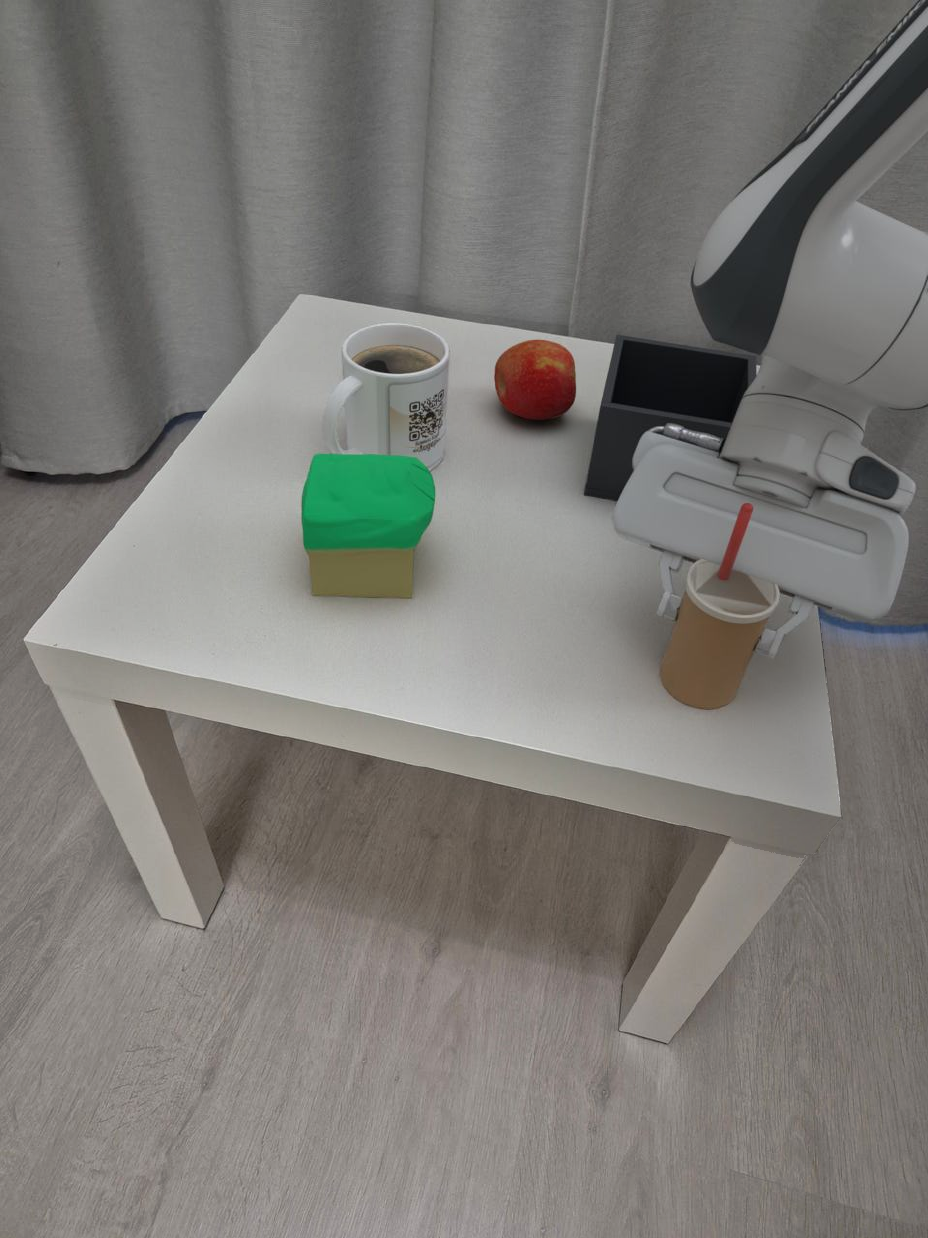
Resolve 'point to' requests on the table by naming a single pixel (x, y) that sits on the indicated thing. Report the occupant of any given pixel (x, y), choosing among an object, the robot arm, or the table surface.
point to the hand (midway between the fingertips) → (714, 636)
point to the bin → (661, 401)
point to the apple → (536, 379)
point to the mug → (392, 393)
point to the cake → (365, 523)
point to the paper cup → (717, 627)
